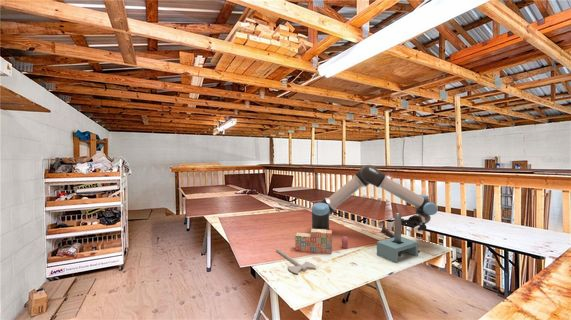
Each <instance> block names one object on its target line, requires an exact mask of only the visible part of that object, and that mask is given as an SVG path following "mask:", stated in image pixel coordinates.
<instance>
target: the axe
mask: <svg viewBox="0 0 571 320" xmlns="http://www.w3.org/2000/svg"><path fill="white" fill-rule="evenodd" d="M275 252H276V253H278V254H280V255H281V256H282V257H283V258H285V259H286V260H287V261H289V262H291V263H292V264H293V265H288V266H287V268H288V270H289V272H291V273H294V274H299V273H300V272H301V271H303V272H307V270H309V269H311V270H312V269H313V270H315V269H317V268H316V265H315V264H314V263H312V262H309V261H304V263H302V264H301V263H300V262H298V261H297V260H295V259H294V258H293V257H291V256H289V255H288V254H287V253H285V252H284V251H282V250H281V249H280V248H276V249H275Z"/></svg>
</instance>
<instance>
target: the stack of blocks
mask: <svg viewBox="0 0 571 320" xmlns="http://www.w3.org/2000/svg"><path fill="white" fill-rule="evenodd" d="M310 232H311V234H310ZM310 232H309V233H306V232H296V234H295V248H294V249H295V252H297V251H298V252H303V253H304V252H305V253H315V254H328V255H332V249H333V246H332V245H333V243H332V242H333V230H332V229H330V230H325V229H322V230H321V229H312V228H311V229H310Z"/></svg>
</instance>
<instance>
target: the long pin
mask: <svg viewBox="0 0 571 320" xmlns="http://www.w3.org/2000/svg"><path fill="white" fill-rule="evenodd" d="M393 215H394V219H393V220H394V227H393V229H394V230H393V231H394V232H393V233H394V243H397V244H401V237H402V225H401V219H402V213H401V212H394V214H393ZM401 256H402V251H399V252H398V257H401Z"/></svg>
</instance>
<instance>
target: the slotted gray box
mask: <svg viewBox="0 0 571 320" xmlns="http://www.w3.org/2000/svg"><path fill="white" fill-rule="evenodd" d="M380 233H382V234H385V235H387V236H388V237H390V238H393V237H394V232H393V231H391V230H389V229H387V227H381V230H380ZM419 253H421V251H420V249H418V254H419Z"/></svg>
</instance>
